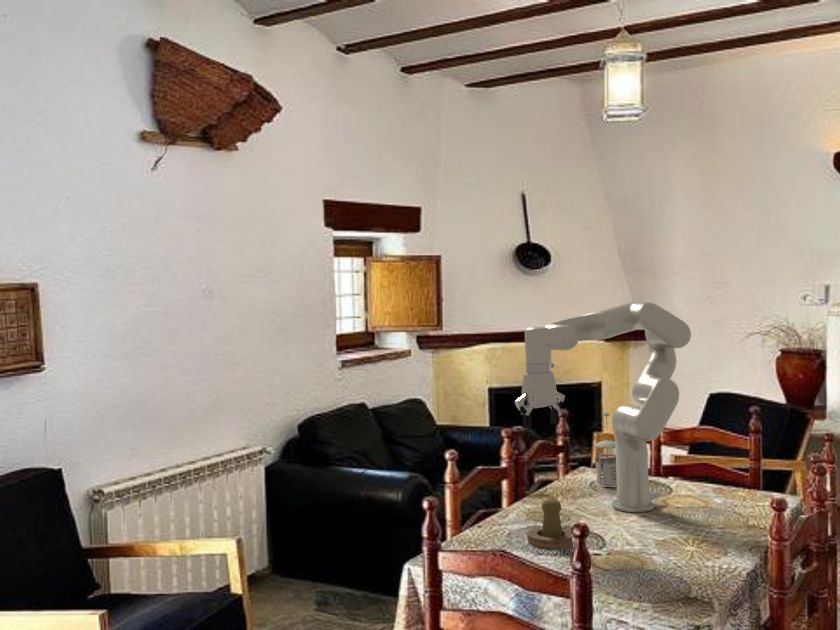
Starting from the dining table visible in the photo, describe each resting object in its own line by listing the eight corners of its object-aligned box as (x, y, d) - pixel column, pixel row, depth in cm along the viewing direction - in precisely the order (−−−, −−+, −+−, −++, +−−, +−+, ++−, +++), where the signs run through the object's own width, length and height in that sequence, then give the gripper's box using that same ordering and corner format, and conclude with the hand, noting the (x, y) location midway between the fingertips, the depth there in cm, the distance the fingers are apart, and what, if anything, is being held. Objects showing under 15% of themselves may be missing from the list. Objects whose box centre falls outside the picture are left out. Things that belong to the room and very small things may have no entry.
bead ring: (556, 530, 233) (556, 523, 233) (584, 542, 222) (583, 535, 222) (519, 538, 228) (518, 531, 228) (545, 550, 216) (545, 543, 216)
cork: (563, 543, 221) (562, 503, 221) (540, 543, 223) (539, 503, 222) (564, 537, 227) (562, 497, 227) (542, 536, 229) (540, 497, 228)
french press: (628, 483, 283) (626, 411, 282) (610, 490, 275) (608, 416, 274) (603, 479, 290) (601, 409, 289) (585, 486, 281) (583, 414, 280)
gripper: (554, 365, 250) (557, 421, 251) (507, 370, 242) (509, 428, 243) (570, 367, 244) (572, 424, 244) (521, 372, 236) (524, 431, 236)
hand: (541, 426), depth 244 cm, fingers open, 9 cm apart
